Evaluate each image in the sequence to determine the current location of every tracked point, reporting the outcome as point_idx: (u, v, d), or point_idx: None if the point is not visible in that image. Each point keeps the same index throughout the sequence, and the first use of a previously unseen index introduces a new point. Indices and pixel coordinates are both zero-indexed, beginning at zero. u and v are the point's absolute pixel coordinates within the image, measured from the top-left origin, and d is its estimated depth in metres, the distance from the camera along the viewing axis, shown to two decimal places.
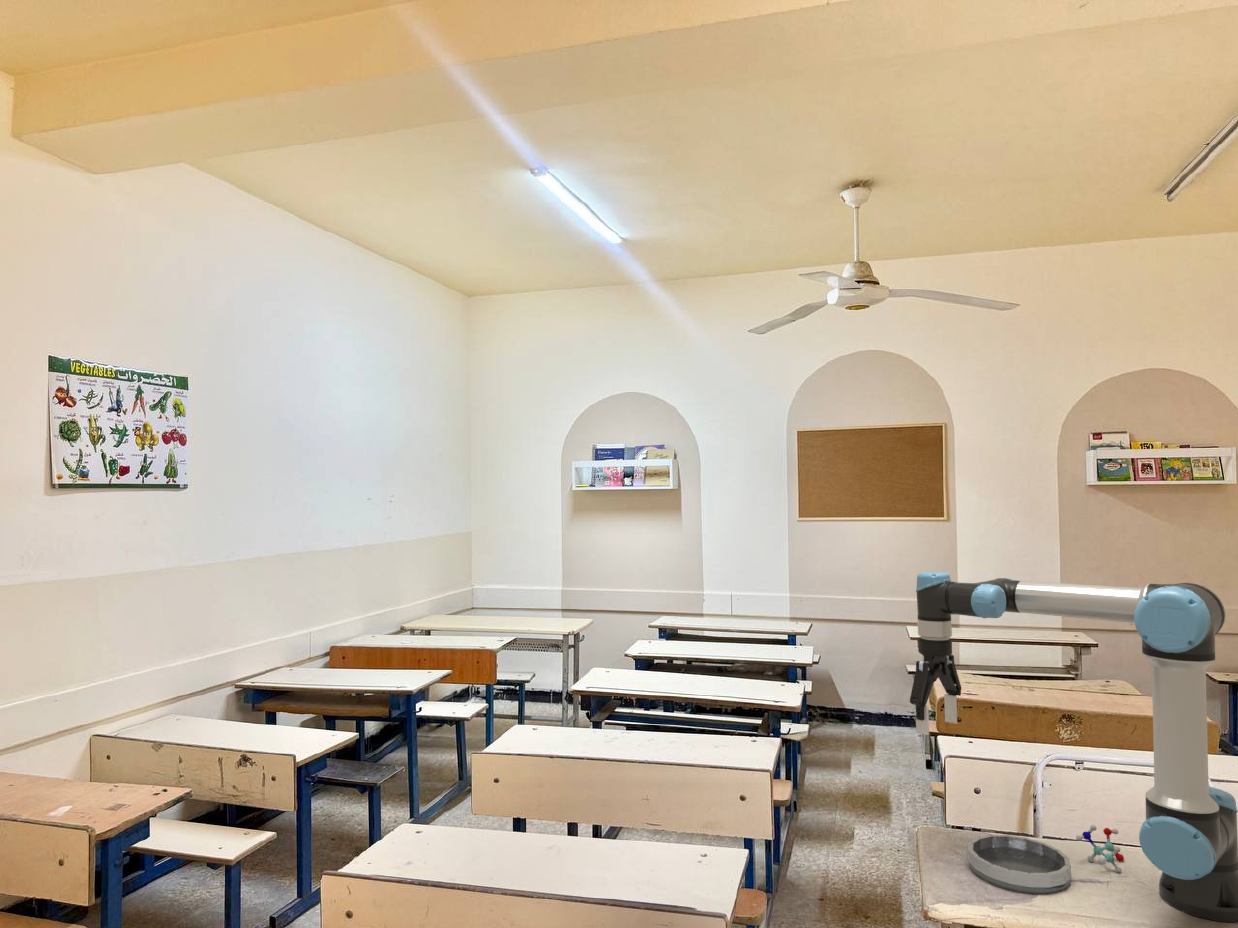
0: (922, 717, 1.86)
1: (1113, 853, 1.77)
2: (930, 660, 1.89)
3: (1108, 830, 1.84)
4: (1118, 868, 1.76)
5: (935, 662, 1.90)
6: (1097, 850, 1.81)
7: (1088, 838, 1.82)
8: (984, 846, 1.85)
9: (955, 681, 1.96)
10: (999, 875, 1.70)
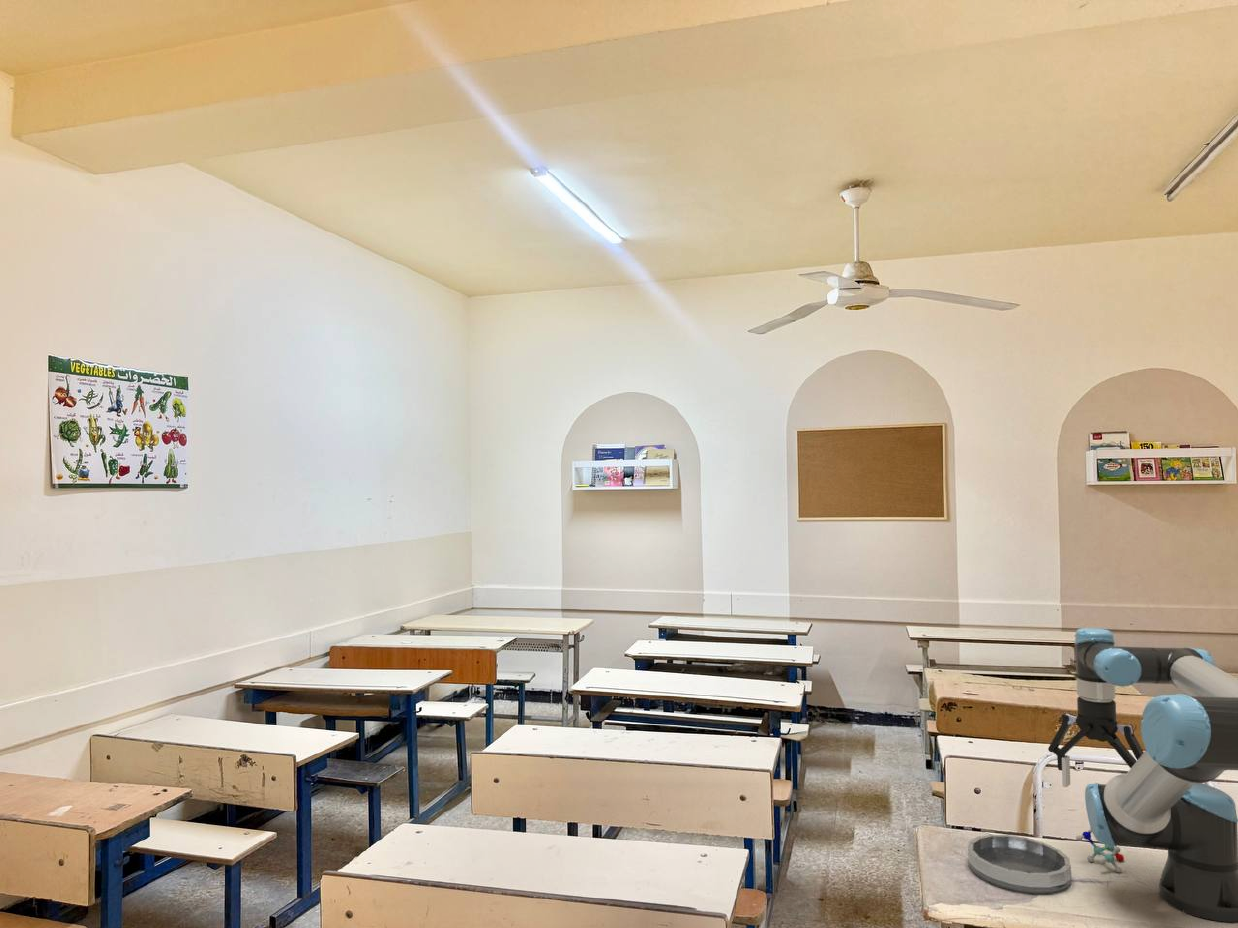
0: (1059, 767, 1.87)
1: (1113, 853, 1.77)
2: (1077, 716, 1.85)
3: None
4: (1118, 868, 1.76)
5: (1085, 721, 1.83)
6: (1097, 850, 1.81)
7: (1088, 838, 1.82)
8: (984, 846, 1.85)
9: None
10: (999, 875, 1.70)
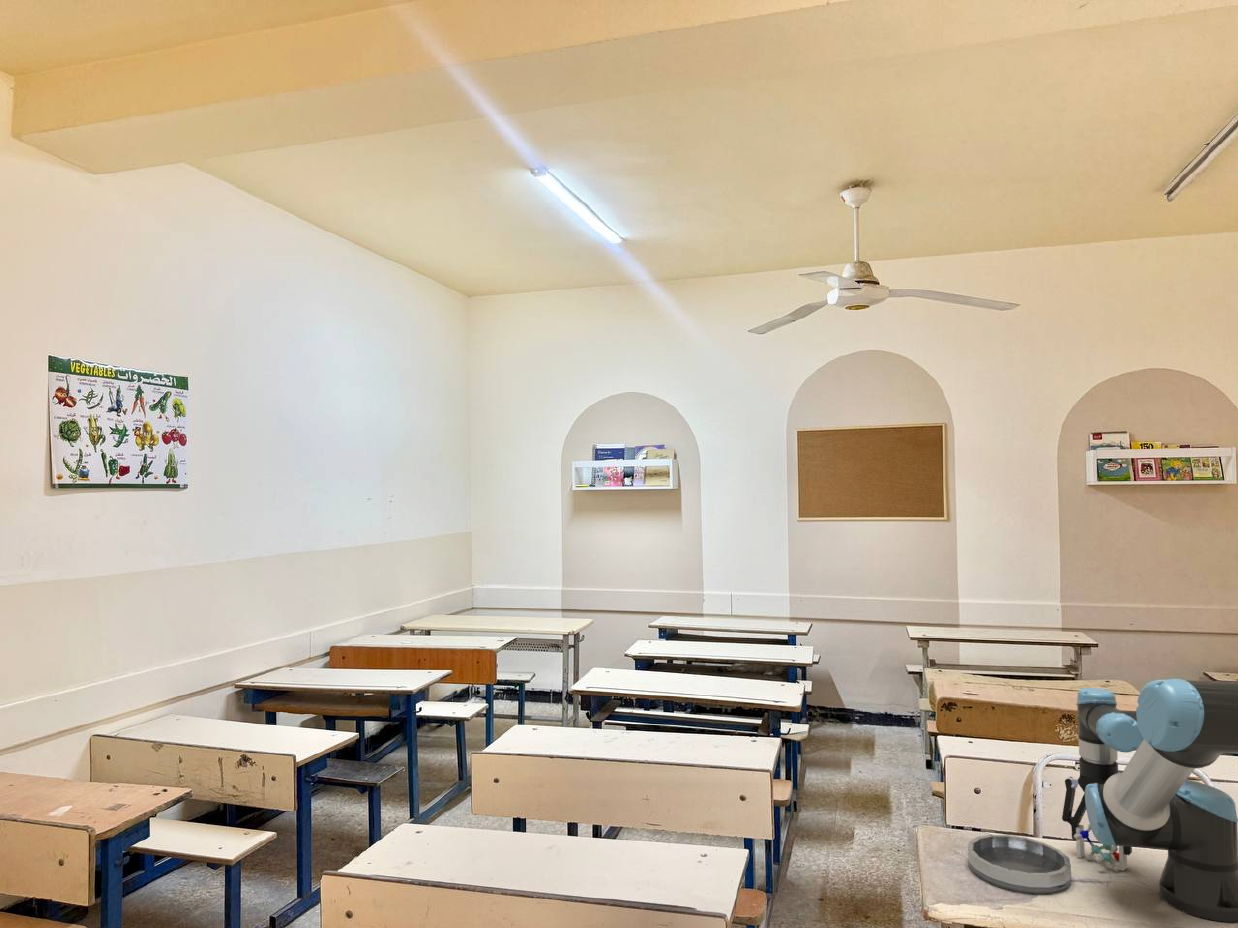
0: (1073, 837, 1.85)
1: (1110, 852, 1.77)
2: (1078, 778, 1.84)
3: None
4: (1115, 867, 1.77)
5: (1086, 781, 1.83)
6: (1095, 849, 1.81)
7: (1086, 837, 1.82)
8: (984, 846, 1.85)
9: None
10: (999, 875, 1.70)
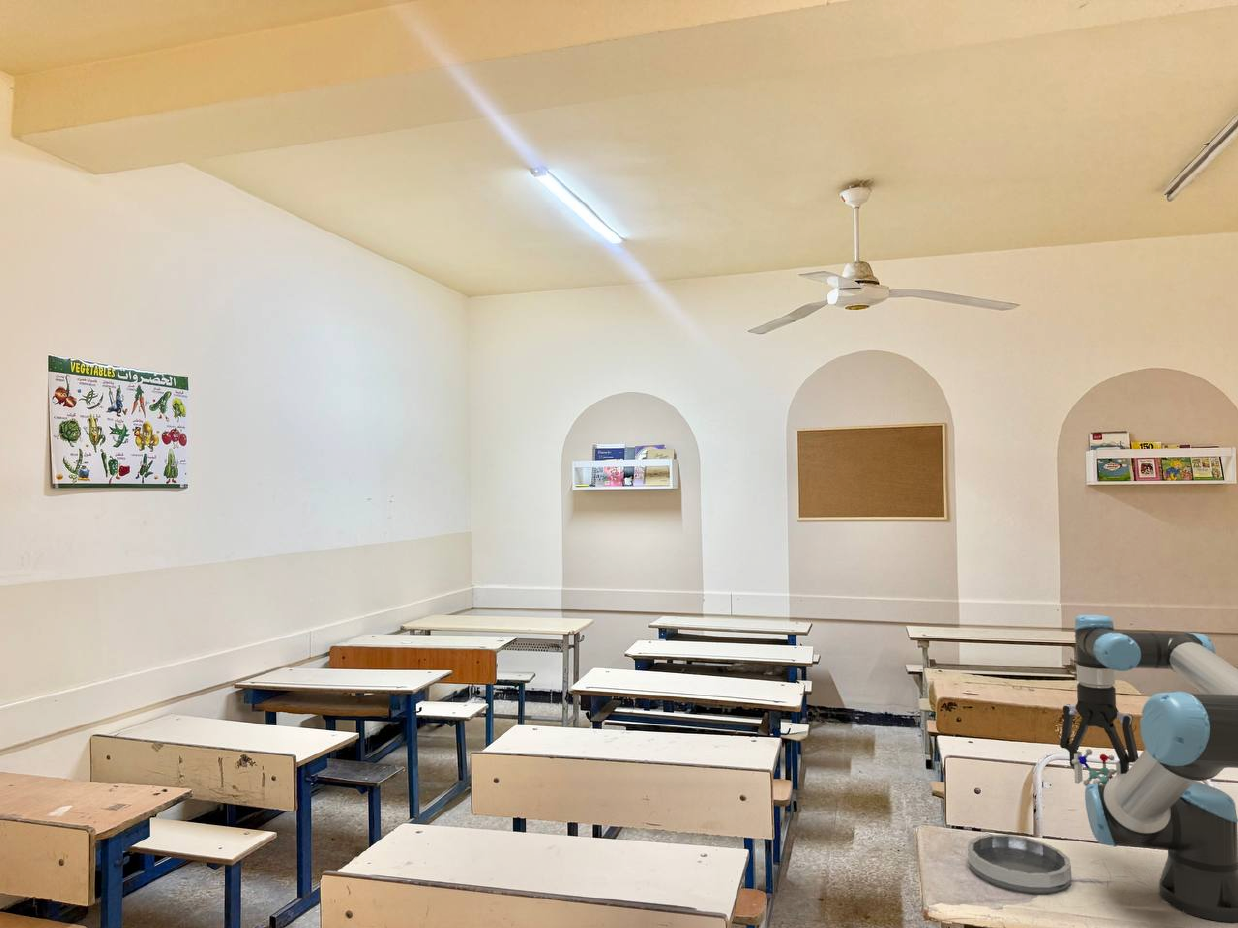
0: (1071, 763, 1.85)
1: (1108, 775, 1.78)
2: (1076, 704, 1.85)
3: (1104, 756, 1.85)
4: None
5: (1084, 706, 1.83)
6: (1093, 774, 1.81)
7: (1084, 762, 1.82)
8: (984, 846, 1.85)
9: None
10: (999, 875, 1.70)
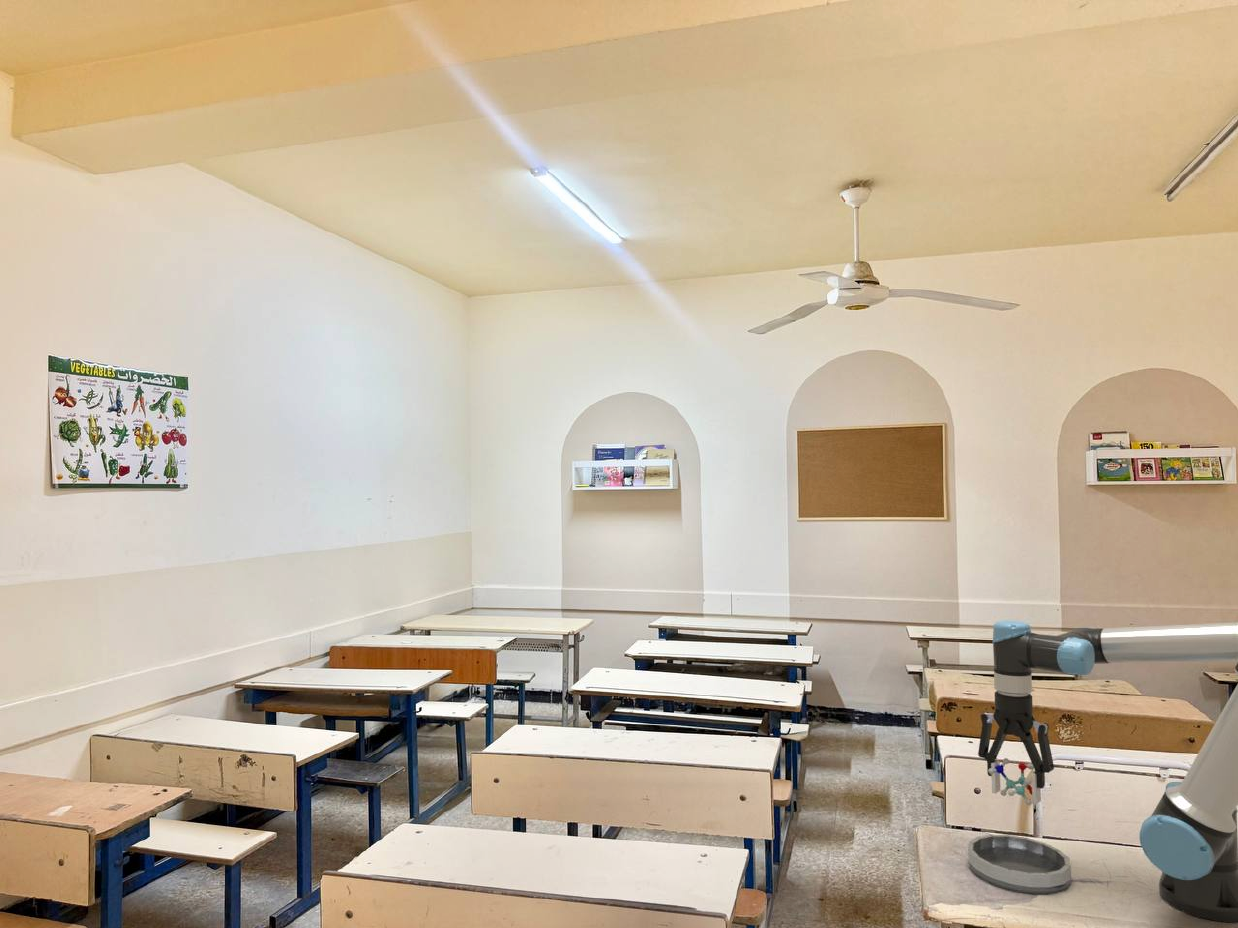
0: (989, 773, 1.81)
1: (1023, 785, 1.74)
2: None
3: (1023, 765, 1.81)
4: (1028, 800, 1.73)
5: (1001, 714, 1.79)
6: (1009, 783, 1.78)
7: (1001, 771, 1.79)
8: (984, 846, 1.85)
9: None
10: (999, 875, 1.70)
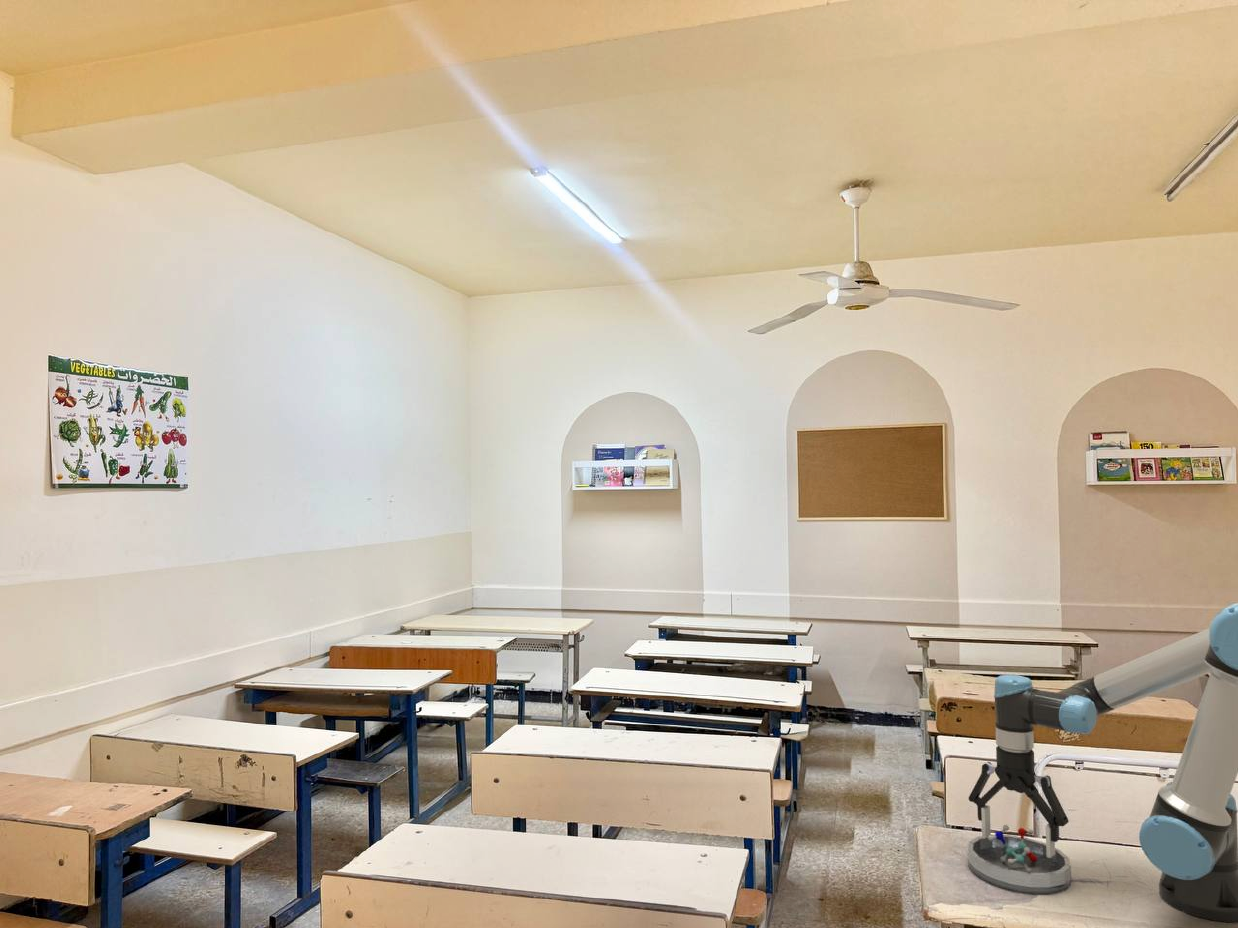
0: (979, 817, 1.83)
1: (1023, 854, 1.73)
2: (996, 766, 1.80)
3: (1022, 830, 1.81)
4: (1028, 869, 1.73)
5: (1004, 771, 1.79)
6: (1009, 850, 1.77)
7: (1000, 838, 1.78)
8: (984, 846, 1.85)
9: None
10: (999, 875, 1.70)
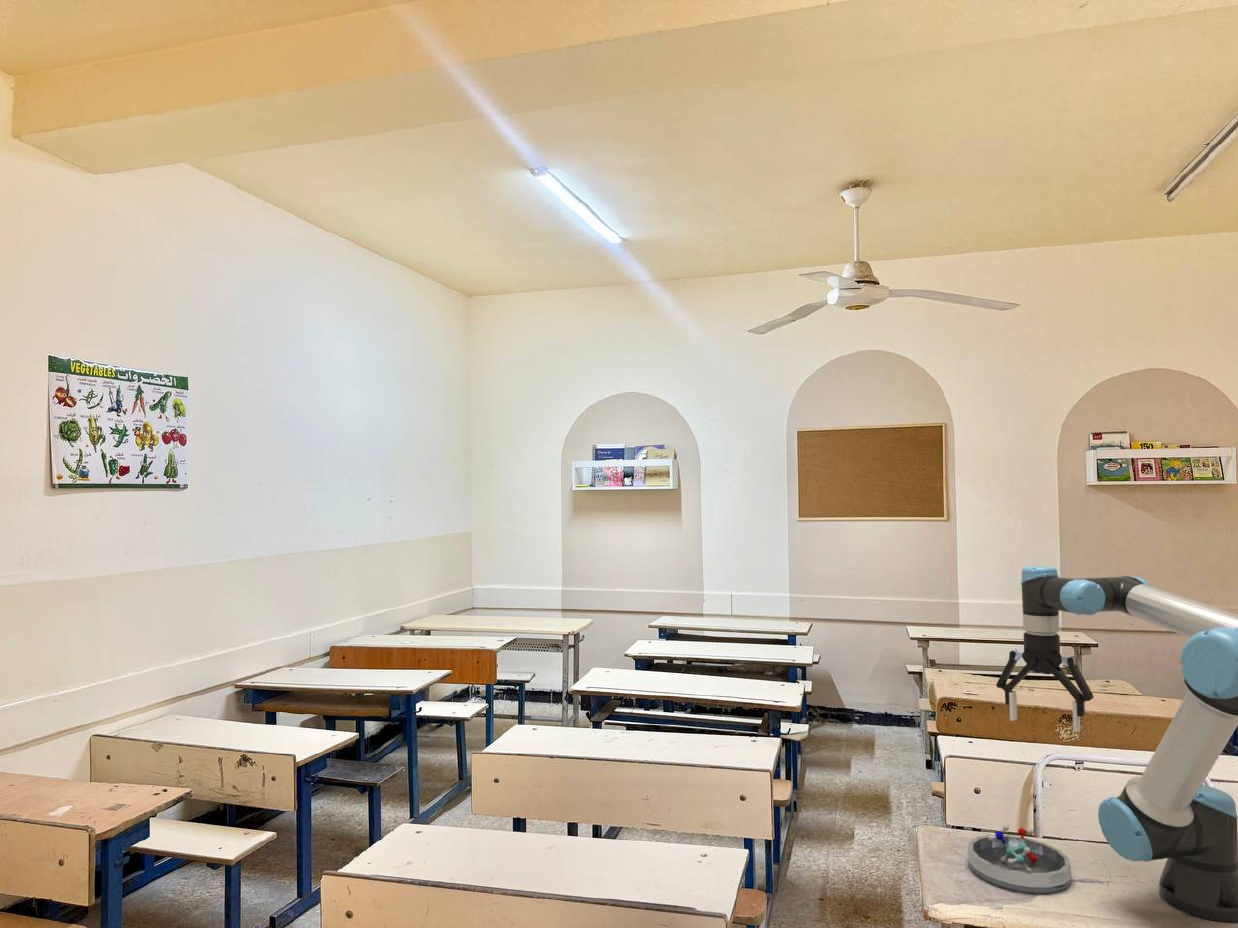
0: (1007, 702, 1.93)
1: (1023, 854, 1.73)
2: None
3: (1022, 830, 1.81)
4: (1028, 869, 1.73)
5: (1031, 655, 1.89)
6: (1009, 850, 1.77)
7: (1000, 838, 1.78)
8: (984, 846, 1.85)
9: None
10: (999, 875, 1.70)
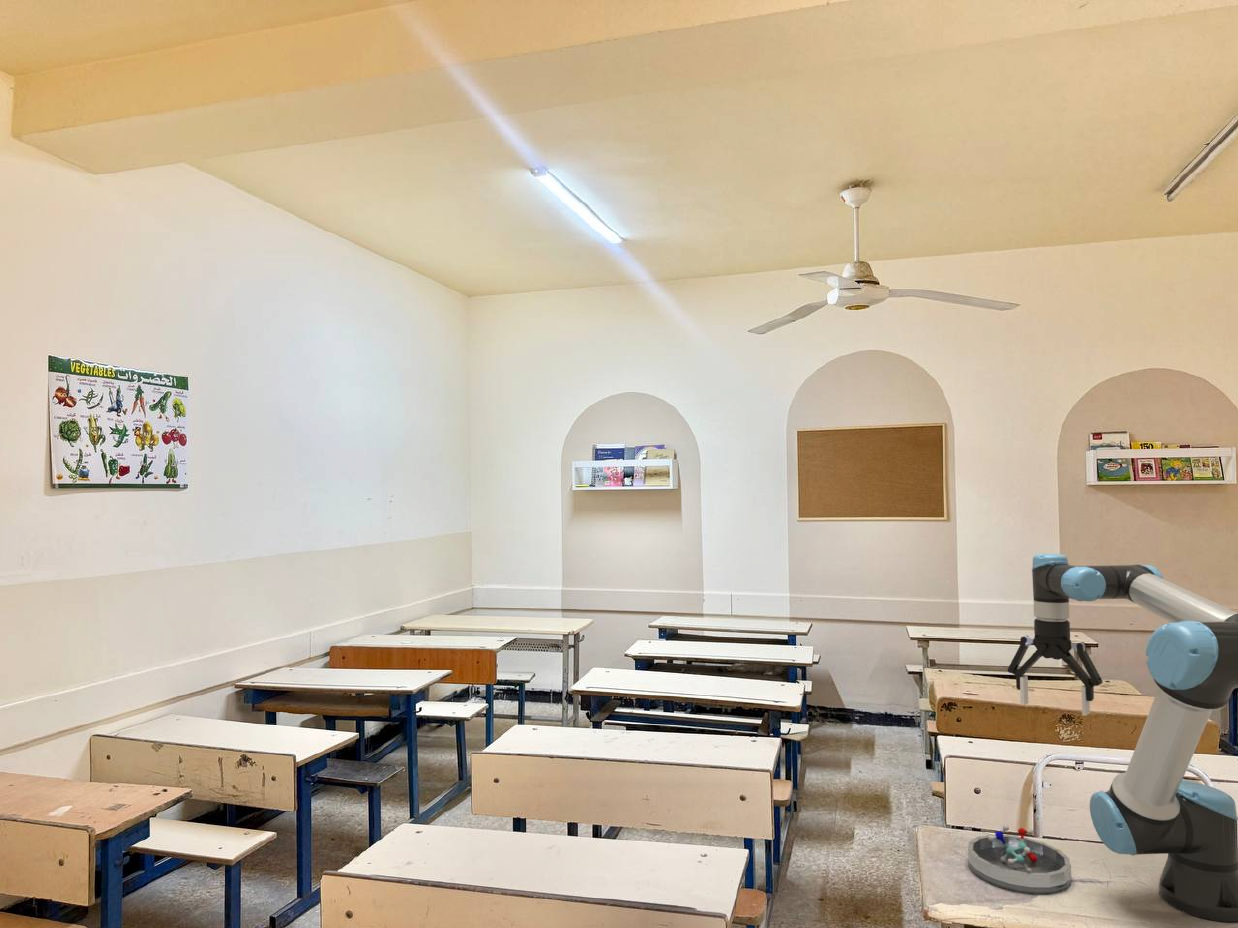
0: (1018, 686, 1.97)
1: (1023, 854, 1.73)
2: (1034, 637, 1.95)
3: (1022, 830, 1.81)
4: (1028, 869, 1.73)
5: (1041, 641, 1.93)
6: (1009, 850, 1.77)
7: (1000, 838, 1.78)
8: (984, 846, 1.85)
9: None
10: (999, 875, 1.70)
